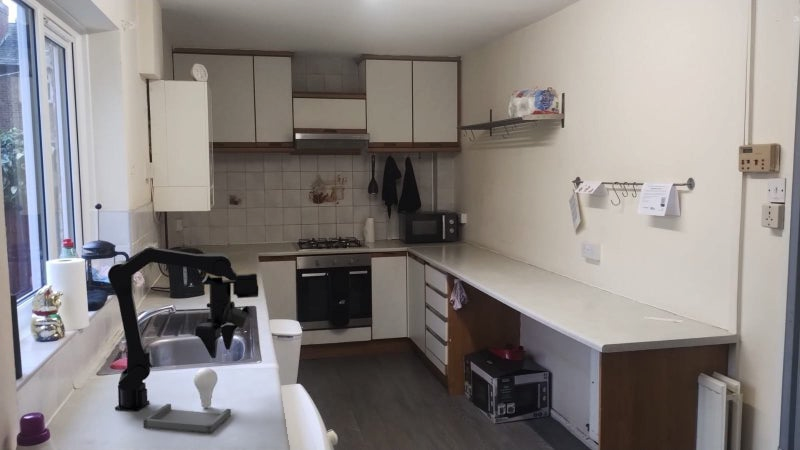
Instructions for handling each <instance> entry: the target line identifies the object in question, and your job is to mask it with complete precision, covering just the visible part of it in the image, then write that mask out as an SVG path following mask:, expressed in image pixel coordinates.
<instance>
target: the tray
mask: <svg viewBox="0 0 800 450" xmlns="http://www.w3.org/2000/svg"><path fill="white" fill-rule="evenodd" d="M231 411H232V410H231V408H226V409H225V410H224V411H222V412H221V413H218V412H217V413H216V412H205V411H193V410H184V409H183V410H181V409H180V410H179V409H172V403H167V404H165V405H163V406H162V407H160V408H159V409H157V410H156V411H154V412H153V413H152V414H150V415H148V416H147V417H146V418H144V419H142V420H143V422H142V423H143V428H144V429H151V428H152V429H153V430H163V431H174V432H184V433H185V432H186V433H196V434H197V433H198V434H205V435H206V434H208V435H212V433H214V432H215V431H216V430H217V429H219V427H220V426H222V425H223V424H224V423H225V422H226V421H227V420H229V418H231V417H232V412H231Z"/></svg>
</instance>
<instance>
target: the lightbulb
mask: <svg viewBox="0 0 800 450" xmlns="http://www.w3.org/2000/svg"><path fill="white" fill-rule="evenodd" d="M218 379H219V378H218V375H217V372H216V371H215V370H214V369H213V368H211V367H203V368H202V367H201V368H200V369H198V371H196V372H195V374H194V377H193V383H194V386H195V388H196V390H197V391H198V394H199V399H200V403H201V405H200V406H201V407H202V408H204V409H208V408H210V407H211V406H212V399H213V393H214V389H215V388H216V385H217V383H218Z"/></svg>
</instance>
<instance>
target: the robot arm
mask: <svg viewBox="0 0 800 450" xmlns="http://www.w3.org/2000/svg"><path fill="white" fill-rule="evenodd" d="M150 263H154V264H161V265H162V264H163V265H169V266H175V267H182V268H189V269H195V270H198V271H200V272H203V273H205V274H207V276H206V277H205V278H204V279H203V280H202V285H203V286H205V285H209V288H208V289H209V302H208V303H206V308H207V309H208V308H209V317H208V318H206V322H202V323H200V324H198V325H197V326H196V327H194V331H193V332H194V333H193V336H194V337H197V338H199V339H200V341H201V342H202V344H203V345H204V347H205V348H206V350H207V352H208V354H209V356H210V358H211V359H216V358H217V353H218V342H219V340H220V338H221V337H222V340H223V344H224V345H223V346H224V347H225V350H228V351H229V350H231V347H232V344H233V343H232V342H233V340H234V337H235V333H236V331H237V329H243V328H245V327H246V326H249V323H250V320H251V319H253V312H252V307H251V306H248V305H246V306H244V307H243V308H241V307H239V308H238V307H236V305H235V304H236V303H235V301H233V300H232V295H231V294H233V295H234V296H236V297H237V299H249V298H258V297H259V285H258V284H259V283H258V275H257V273H256V272H254V273H253V272H252V273H251V272H250V273H245V274H243V273H242V274H237V272H236V270H234V269H233V268H232V263H231V261H230V259H229V257H228V256H227V255H226V254H224V253H222V252H220V253H218V252H217V253H212V252H211V253H192V252H191V253H190V252H185V251H179V250H171V249H165V248H158V247H154V246H152V245H149V246H145V247H144V248H143V249H141V250H140V251H139V252H137V253H135V254H134V255H132V256H130V257H128V258H127V259H126V260H118V261H116V262H114V263H112V266H111V267H110V268H109V269H108V272H107V278H108V280H109V283H110V285H111V289H112V290H113V292H114V294H115V296H116V299H117V302H118V306H119V313H120V316H121V322H122V326H123V328H122V329H123V333H124V338H125V342H126V347H127V352H126V353H127V354H126V368H125V369H124V370H123V371H122V372H121V373H120V377H119V380H118V385H117V392H118V393H117V396H118V400H117V401H118V405H116V406H115V407H114V410H120V411H131V412H138V411H139V410H141V409H142V408H143V407H145V406H146V405H148V404H149V403H150V400H149V399H148V389H147V386H146V382H143V381H144V380H146V379H148V377H149V376H150V373H151V368H153V366H154V358H153V357H152V353H151V352H152V349H151V348H152V347H151V346H149V347H145V345H144V342H143V340H142V333H141V329H140V328H141V327H140V323H139V317H138V311H137V307H136V302H135V301H136V300H135V297H134V276H135V274H136V273H139V271H141V270H142V269H144V268H145V267H146V266H148V265H149V264H150ZM211 275H212V276H213V277H212V276H211ZM214 276H215V277H214ZM223 277H224V278H226V279H223ZM231 286H232V287H231ZM231 289H232V290H231Z"/></svg>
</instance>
